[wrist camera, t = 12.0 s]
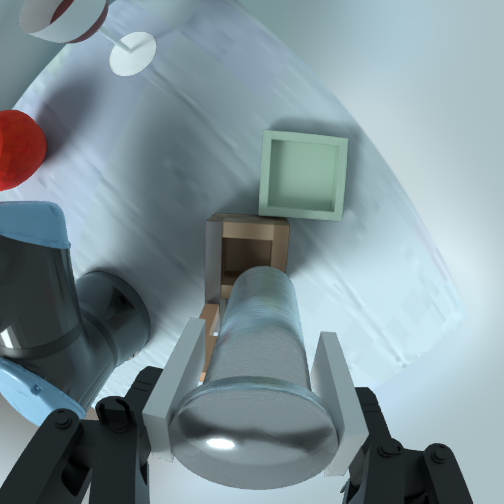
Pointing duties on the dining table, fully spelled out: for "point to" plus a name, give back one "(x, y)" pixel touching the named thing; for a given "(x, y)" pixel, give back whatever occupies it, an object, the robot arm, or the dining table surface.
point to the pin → (256, 396)
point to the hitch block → (240, 251)
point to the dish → (302, 175)
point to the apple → (19, 148)
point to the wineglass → (86, 30)
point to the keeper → (209, 332)
